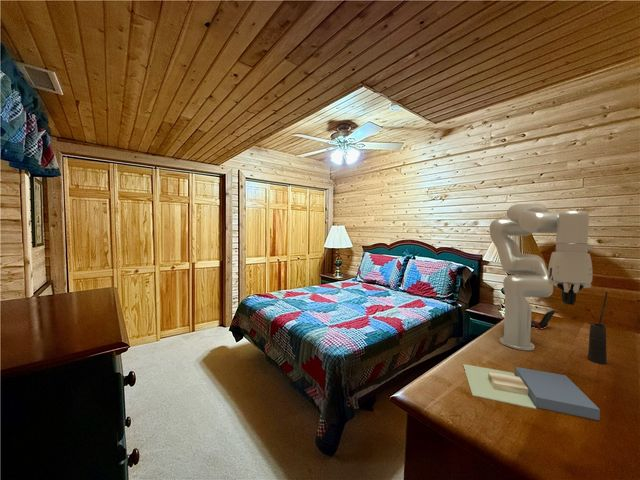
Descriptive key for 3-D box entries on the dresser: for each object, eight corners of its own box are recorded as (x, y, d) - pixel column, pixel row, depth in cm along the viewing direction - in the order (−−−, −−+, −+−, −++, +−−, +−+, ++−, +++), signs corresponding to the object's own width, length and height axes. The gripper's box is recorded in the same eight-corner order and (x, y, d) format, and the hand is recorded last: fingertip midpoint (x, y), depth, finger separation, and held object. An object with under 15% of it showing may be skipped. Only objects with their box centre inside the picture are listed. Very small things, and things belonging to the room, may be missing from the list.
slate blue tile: (515, 375, 92) (515, 366, 92) (565, 384, 87) (565, 375, 87) (535, 407, 76) (536, 397, 75) (599, 420, 71) (600, 409, 70)
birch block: (488, 377, 90) (488, 372, 90) (519, 382, 87) (519, 377, 87) (494, 389, 83) (494, 383, 83) (528, 395, 81) (528, 389, 80)
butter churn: (571, 356, 107) (574, 288, 106) (586, 353, 110) (589, 287, 109) (600, 367, 98) (604, 293, 97) (616, 363, 101) (620, 292, 100)
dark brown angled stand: (527, 321, 148) (528, 304, 147) (555, 329, 137) (556, 310, 137) (519, 324, 143) (520, 306, 143) (547, 332, 133) (548, 312, 132)
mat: (462, 364, 99) (462, 364, 99) (513, 373, 93) (513, 372, 93) (472, 395, 81) (472, 394, 81) (536, 409, 75) (536, 408, 75)
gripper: (593, 248, 87) (590, 303, 87) (538, 247, 92) (536, 298, 93) (608, 250, 80) (605, 309, 80) (547, 248, 85) (545, 304, 86)
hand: (568, 303), depth 87 cm, fingers closed
